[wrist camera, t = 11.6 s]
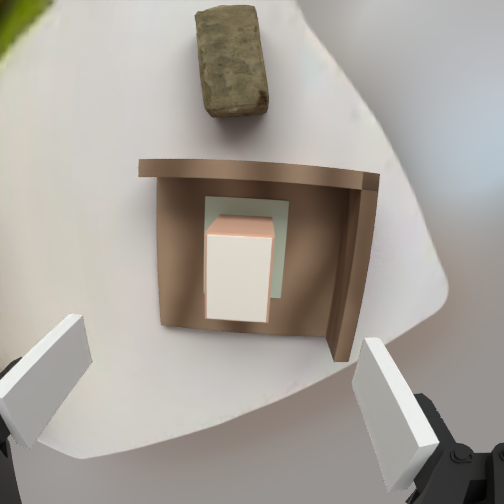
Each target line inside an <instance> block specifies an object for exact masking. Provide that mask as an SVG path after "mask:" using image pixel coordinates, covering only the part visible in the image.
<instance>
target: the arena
mask: <svg viewBox="0 0 504 504" xmlns="http://www.w3.org/2000/svg"><path fill="white" fill-rule="evenodd" d="M138 177H157V261H158V285H159V303H160V318H161V325H166V326H175V327H184V328H194V329H204V330H215V331H226V332H239V333H254V334H271V335H291V336H322V337H326V339H327V342H328V345H329V348H330V351H331V354H332V358H333V361H334V362H348V361H349V357H350V353H351V349H352V345H353V340H354V336H355V332H356V327H357V323H358V318H359V313H360V308H361V303H362V298H363V293H364V288H365V282H366V277H367V271H368V265H369V259H370V252H371V246H372V239H373V231H374V224H375V216H376V207H377V198H378V188H379V177H380V174H377V173H369V172H362V171H354V170H346V169H337V168H328V167H318V166H308V165H297V164H285V163H271V162H255V161H235V160H206V159H139V175H138ZM205 196H215V197H236V198H253V199H269V200H283V201H289V210H288V222H287V235H286V246H285V258H284V269H283V279H282V290H281V298H270V307H269V320H268V323H257V322H241V321H227V320H214V319H205V293H204V225H205Z"/></svg>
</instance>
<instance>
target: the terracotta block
mask: <svg viewBox="0 0 504 504" xmlns="http://www.w3.org/2000/svg"><path fill="white" fill-rule="evenodd" d="M274 242H275V233H274V226H273V220H272V217H262V216H244V215H225V214H220V215H219V216H218V217H217V218H216V219H215V220H214V222H213V223H212V224H211V225H210V226H209V228H208V229H207V230H206V231H205V319H214V320H227V321H241V322H257V323H268V320H269V307H270V295H271V282H272V269H273V256H274Z"/></svg>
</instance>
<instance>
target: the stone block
mask: <svg viewBox="0 0 504 504" xmlns="http://www.w3.org/2000/svg"><path fill="white" fill-rule="evenodd" d="M195 21H196V29H197V34H196V35H197V43H198V57H199V68H200V78H201V86H202V92H203V101H204V106H205V109H206V111H207V112H208V113H209V115H210V116H211V117H232V116H247V115H258V114H262V113H266V112H267V110H268V103H269V95H268V86H267V79H266V73H265V66H264V60H263V54H262V48H261V42H260V32H259V24H258V18H257V12H256V9H255V6H250V5H232V6H225V5H221V6H217V7H213V8H210V9H207V10H205V11H198V12H197V13H196V15H195Z"/></svg>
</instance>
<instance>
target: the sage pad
mask: <svg viewBox="0 0 504 504" xmlns="http://www.w3.org/2000/svg"><path fill="white" fill-rule="evenodd" d="M288 210H289V201H283V200H269V199H253V198H236V197H215V196H205V225H204V293H205V231H206V230H207V229H208V228H209V226H210V225H211V224H212V223H213V222H214V220H215V219H216V218H217V217H218V216H219V215H220V214H225V215H244V216H262V217H272V220H273V226H274V233H275V242H274V256H273V269H272V282H271V295H270V298H281V290H282V279H283V269H284V258H285V246H286V235H287V222H288Z"/></svg>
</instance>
